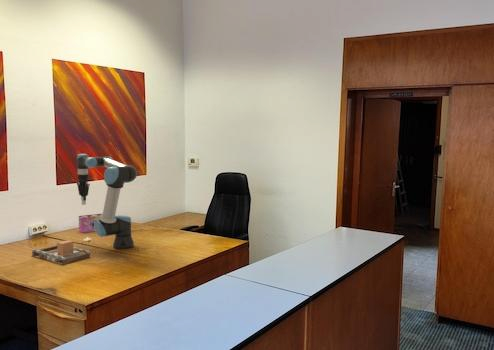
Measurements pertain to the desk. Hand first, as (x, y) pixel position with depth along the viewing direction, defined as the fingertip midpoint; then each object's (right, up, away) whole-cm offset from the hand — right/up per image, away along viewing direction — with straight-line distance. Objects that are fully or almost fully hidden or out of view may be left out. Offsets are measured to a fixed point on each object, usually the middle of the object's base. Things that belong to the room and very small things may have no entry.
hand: (83, 204), depth 332 cm
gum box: (-7, -26, +41) cm, 49 cm away
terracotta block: (+3, -31, -40) cm, 50 cm away
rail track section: (-2, -33, -36) cm, 49 cm away
